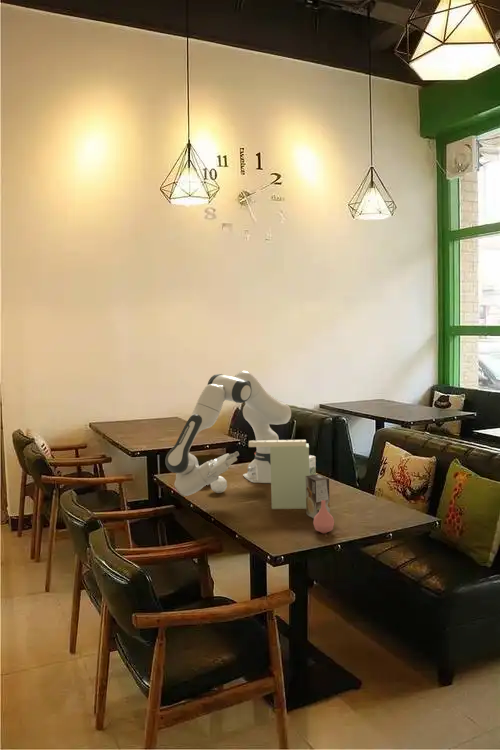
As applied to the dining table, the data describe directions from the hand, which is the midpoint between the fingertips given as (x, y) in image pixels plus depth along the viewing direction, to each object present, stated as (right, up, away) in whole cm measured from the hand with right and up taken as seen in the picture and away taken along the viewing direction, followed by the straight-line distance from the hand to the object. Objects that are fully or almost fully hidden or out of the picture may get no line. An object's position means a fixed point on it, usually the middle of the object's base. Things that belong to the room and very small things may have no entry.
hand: (237, 455), depth 277 cm
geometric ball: (-9, -20, +25) cm, 33 cm away
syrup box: (+33, -19, +31) cm, 49 cm away
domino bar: (+17, +4, -2) cm, 18 cm away
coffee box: (+33, -23, -15) cm, 43 cm away
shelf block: (+23, -21, 0) cm, 31 cm away
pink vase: (+33, -24, -35) cm, 54 cm away
